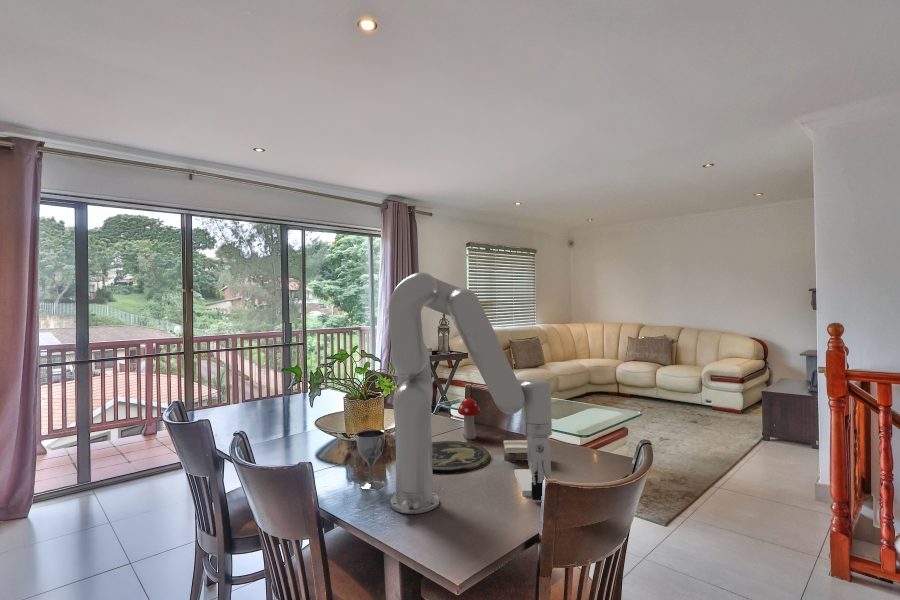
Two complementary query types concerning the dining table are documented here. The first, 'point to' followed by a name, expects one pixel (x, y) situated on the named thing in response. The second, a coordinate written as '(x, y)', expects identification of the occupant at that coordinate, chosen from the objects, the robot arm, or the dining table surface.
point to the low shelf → (515, 450)
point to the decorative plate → (457, 457)
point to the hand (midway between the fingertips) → (538, 498)
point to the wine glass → (370, 453)
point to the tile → (524, 481)
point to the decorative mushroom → (469, 417)
